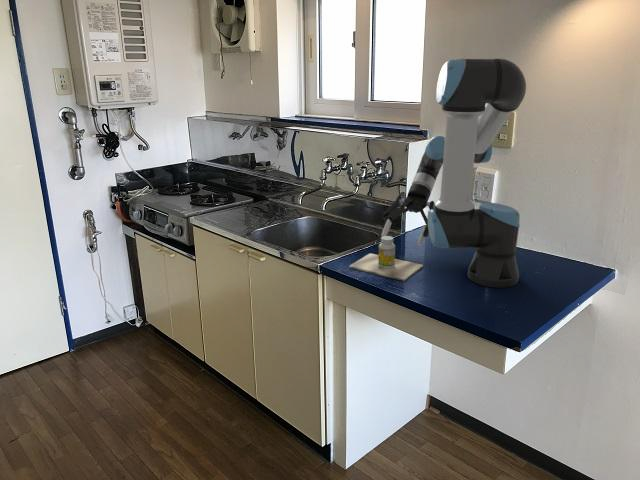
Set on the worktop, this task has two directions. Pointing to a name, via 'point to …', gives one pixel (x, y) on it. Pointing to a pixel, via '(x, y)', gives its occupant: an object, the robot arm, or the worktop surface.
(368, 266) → the birch board
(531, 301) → the worktop surface
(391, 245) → the supplement bottle
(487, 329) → the worktop surface
